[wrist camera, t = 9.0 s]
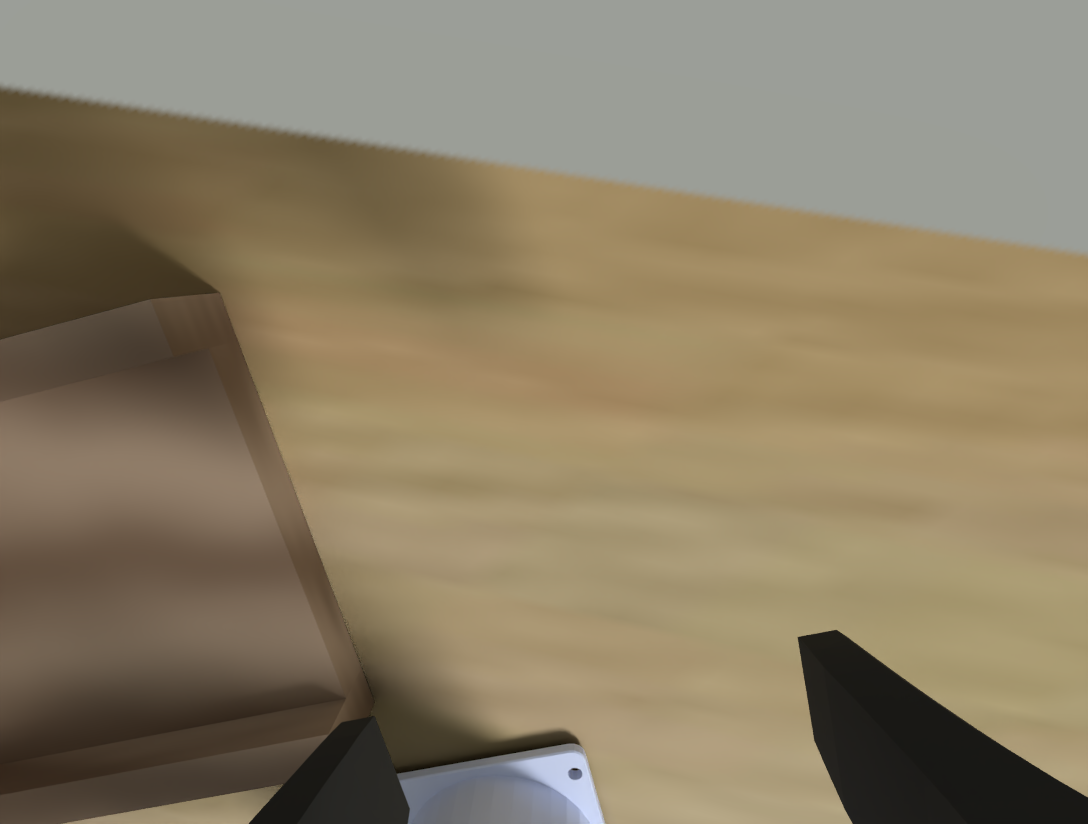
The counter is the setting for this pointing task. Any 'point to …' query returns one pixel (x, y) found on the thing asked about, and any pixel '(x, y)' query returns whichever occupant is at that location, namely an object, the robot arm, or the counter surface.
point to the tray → (154, 573)
